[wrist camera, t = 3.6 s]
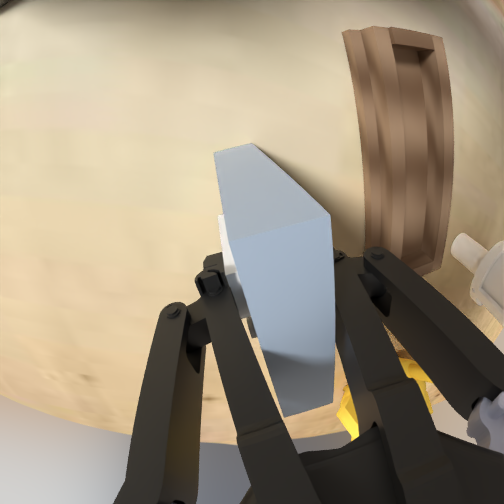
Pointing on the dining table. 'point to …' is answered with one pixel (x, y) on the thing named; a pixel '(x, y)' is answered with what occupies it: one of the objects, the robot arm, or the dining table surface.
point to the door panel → (282, 273)
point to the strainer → (483, 272)
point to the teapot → (347, 406)
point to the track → (404, 141)
